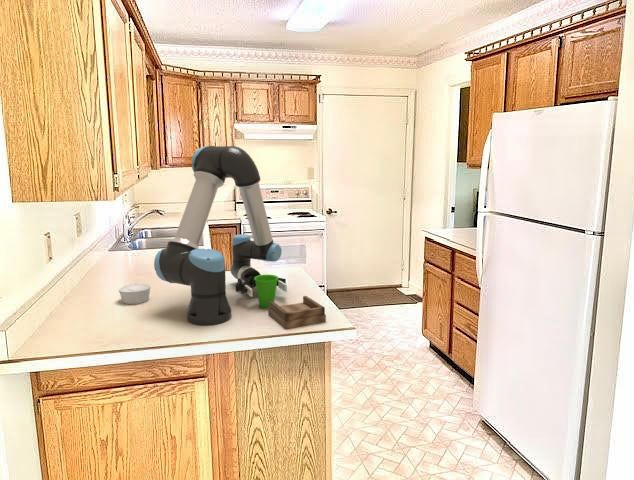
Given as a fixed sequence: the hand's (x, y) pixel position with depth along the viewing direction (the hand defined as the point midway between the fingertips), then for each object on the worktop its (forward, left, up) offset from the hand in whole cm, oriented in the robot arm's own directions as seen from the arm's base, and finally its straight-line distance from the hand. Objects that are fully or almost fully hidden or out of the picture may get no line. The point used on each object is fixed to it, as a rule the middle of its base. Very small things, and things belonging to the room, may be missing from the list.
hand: (269, 290), depth 172 cm
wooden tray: (+9, -13, -6) cm, 17 cm away
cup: (-1, +1, -7) cm, 7 cm away
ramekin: (-51, +13, -7) cm, 53 cm away
